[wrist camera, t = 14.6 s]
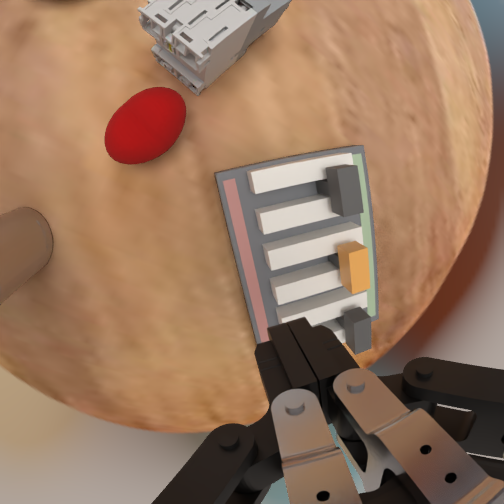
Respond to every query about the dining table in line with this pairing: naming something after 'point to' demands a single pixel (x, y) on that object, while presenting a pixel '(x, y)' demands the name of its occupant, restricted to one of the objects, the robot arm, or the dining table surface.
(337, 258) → the handle
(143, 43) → the dining table surface
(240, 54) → the circuit breaker
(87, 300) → the dining table surface
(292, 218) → the breaker panel
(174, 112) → the red plush heart
